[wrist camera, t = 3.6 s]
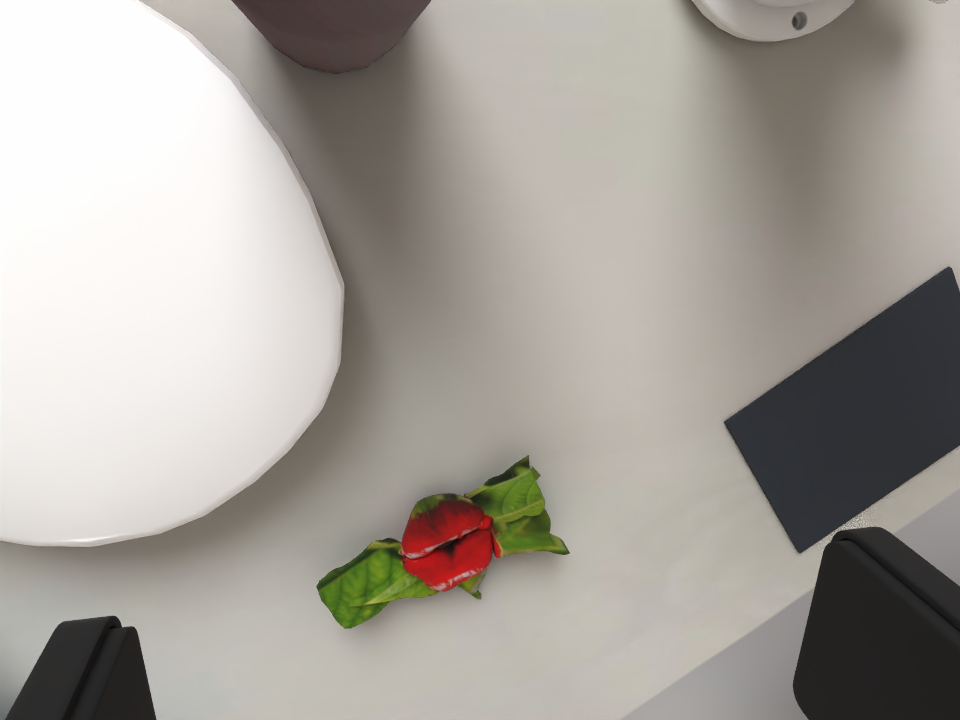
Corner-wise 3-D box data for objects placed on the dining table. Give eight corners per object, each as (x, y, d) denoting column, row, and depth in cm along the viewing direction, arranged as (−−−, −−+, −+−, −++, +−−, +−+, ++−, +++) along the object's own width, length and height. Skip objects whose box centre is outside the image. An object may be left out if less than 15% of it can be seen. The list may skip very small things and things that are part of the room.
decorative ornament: (536, 453, 39) (592, 586, 42) (513, 429, 44) (565, 550, 47) (297, 575, 37) (374, 706, 40) (299, 537, 42) (367, 656, 44)
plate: (-544, 320, 25) (-168, -276, 22) (-360, 290, 32) (-45, -178, 28) (107, 675, 33) (459, 273, 30) (152, 595, 39) (447, 255, 36)
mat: (948, 266, 44) (951, 267, 44) (997, 415, 50) (1001, 417, 49) (723, 421, 45) (726, 423, 45) (797, 551, 50) (800, 553, 50)
